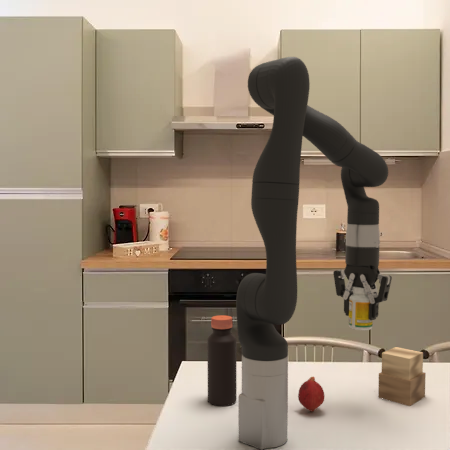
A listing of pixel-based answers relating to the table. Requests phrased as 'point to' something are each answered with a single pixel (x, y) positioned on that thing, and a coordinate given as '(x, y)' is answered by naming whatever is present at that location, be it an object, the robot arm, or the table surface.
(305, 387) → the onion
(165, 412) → the table surface
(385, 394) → the tower base
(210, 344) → the vinegar
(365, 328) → the supplement bottle
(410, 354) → the tower top
